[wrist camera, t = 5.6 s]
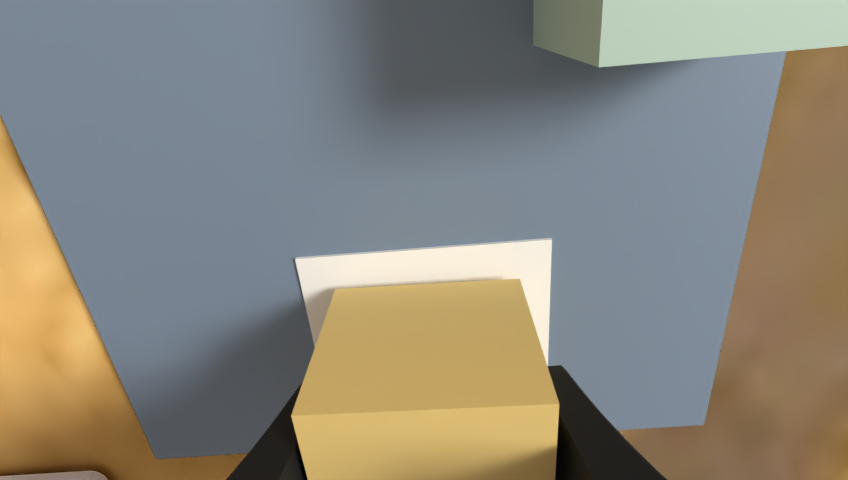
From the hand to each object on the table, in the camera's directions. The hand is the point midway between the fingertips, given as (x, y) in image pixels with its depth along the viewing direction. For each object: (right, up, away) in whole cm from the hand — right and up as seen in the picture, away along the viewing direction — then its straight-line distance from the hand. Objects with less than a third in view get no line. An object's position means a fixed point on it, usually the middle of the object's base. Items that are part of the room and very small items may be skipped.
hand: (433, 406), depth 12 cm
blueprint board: (-1, +6, 0) cm, 6 cm away
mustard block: (0, +1, +1) cm, 2 cm away
